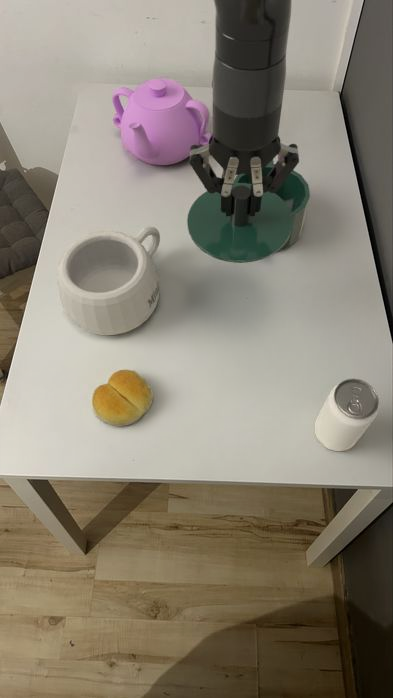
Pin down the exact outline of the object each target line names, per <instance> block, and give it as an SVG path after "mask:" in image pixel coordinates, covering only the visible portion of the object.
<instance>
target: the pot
mask: <svg viewBox="0 0 393 698" xmlns="http://www.w3.org/2000/svg"><path fill="white" fill-rule="evenodd" d="M274 162H275V161H274V159H273V160H272V161H271V162H270V163H269V164H268V165H267V166H266V167H265V168H264V169H263V170H262V178H263V177H266V176H267V175H268V174H269V172H270V171H271V169H272V168H273V167H274V165H275V164H276V163H274ZM234 183H248V184H253V183H252V175H248V174H239V175H235V179H234ZM275 194H277V195H278V196H279V197H280V198H281V199H282V200H283V201H284V202H285V203H286V205H287V206H288V208H289V210H290V213H291V216H292V230H291V233H290V236H289V238H288V240H287V242H286V243H285V244H284V246H283V247H282V248H281V249H280V250H278V251H277V252H276V253H278V252H282V251H284V250H287V249H289V248H291V247H292V246H293V245H294V244H296V242H297V241H298V240H299V239H300V237H301V235H302V231H303V229H304V226H305V221H306V216H307V211H308V207H309V203H310V199H311V192H310V185H309V183H308V182H307V181H306V180H305V177H303V175H302V174H300V173H299V172H298V171H296V170H294V169H293V171H292V172H291V173H290V175H289V176H288V177H287V179H286V180H285V181H284V182H283V184H282V185H281V186H280V188H279V189H278V190H277V191H276V192H275Z"/></svg>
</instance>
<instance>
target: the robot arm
mask: <svg viewBox="0 0 393 698" xmlns="http://www.w3.org/2000/svg"><path fill="white" fill-rule="evenodd" d="M213 3H214V8H215V9H214V10H215V14H214V15H215V17H214V44H215V45H214V49H215V50H214V58H213V59H214V60H213V66H212V80H211V88H212V133H211V134H212V136H211V137H210V139H209V144H207V145H204V146H203V145H201V146H200V145H199V146H198V145H192V146H191V147H190V156H189V165H190V167H191V168H192V170H193V171H194V173H195V174H196V176H197V178H198V179H199V181H200V182H201V184H202V186H203V187H204V188H205V190H206V191H208V192H209V193H215V192H218V193H219V194H220V195H221V211H222V213H226V216H231V204H232V185H233V184H234V180H235V178H236V176H237V175H239V174H248V175H252V183H253V185H251V189H250V190H251V201H250V212H249V215H250V216H255V212H259V211H260V208H261V199H262V195H263V193H265V192H268V191H269V192H270V193H275V192H276V191H277V190H278V189H279V188H280V186H281V185H282V184H283V182H284V181H285V180H286V179H287V177H288V176H289V175H290V173H291V172H292V171H293V170H294V169H296V167H297V166H298V165H299V163H300V156H299V149H298V147H299V146H298V145H297V144H296V143H291V144H289V145H287V144H284V143H281V138H280V135H279V133H280V132H279V131H280V123H281V115H282V107H283V100H284V92H285V84H286V77H287V49H288V41H289V40H288V39H289V33H290V25H291V24H290V23H291V17H292V0H213ZM210 156H211V157H212V158H213V159H214V160H215V161H216V163H217V164H218V165H219V166H220V167H221V168H222V172H221V177H219V176H217V174H216V172H215V170H214V169H213V167H212V166H211V164H210ZM276 157H277V161H276V163H274V164H275V165H274V167H273V168H272V169H271V171H270V172H269V174H268V175H267V176H266V177H263V178H262V170H263V169H264V168H265V167H266V166H267V165H268V164H269V163H270V162H271V161H272V160H273V161H274V159H275V158H276Z"/></svg>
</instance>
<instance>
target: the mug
mask: <svg viewBox="0 0 393 698" xmlns="http://www.w3.org/2000/svg"><path fill="white" fill-rule="evenodd" d="M149 236H151V243H150V245H149V248H148V249H146V248H145V246H144V245H143V242H144V241H145V240H146V238H147V237H149ZM160 241H161V234H160V232H159V230H158V229H157V228H156V227H155V226H146V227H144V228H143V229H142V230H140V231H139V232H138V233H137V235H136V236H135V237H133V236H131V235H129V234H126V233H124V232H122V231H115V230H99V231H95V232H91V233H87V234H85V235H83V236H81V237H79V238H78V239H76V240H74V242H72V243H71V244H70V245H69V246H68V247H67V249H66V250H65V251H64V252H63V254H62V256H61V258H60V260H59V262H58V268H57V273H56V280H57V287H58V288H57V289H58V293H59V298H60V302H61V304H62V305H61V306H62V307H63V309H64V311H65V313H66V315H67V316H68V318H70V319H71V321H72V322H73V323H75V325H77V326H78V327H79V328H80V329H83V330H84V331H86V332H89V333H91V334H96V335H99V336H117V335H121V334H125V333H128V332H130V331H133V330H134V329H136V328H138V327H140V326H141V325H142V324H144V322H146V321H147V320H149V318H150V317H151V315H153V313H154V311H155V310H156V308H157V305H158V302H159V299H160V288H161V287H160V286H161V285H160V284H161V283H160V279H159V276H158V275H159V274H158V273H157V269H156V265H155V263H154V261H153V257H154V256H155V254H156V252H157V250H158V249H159V245H160Z"/></svg>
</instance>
